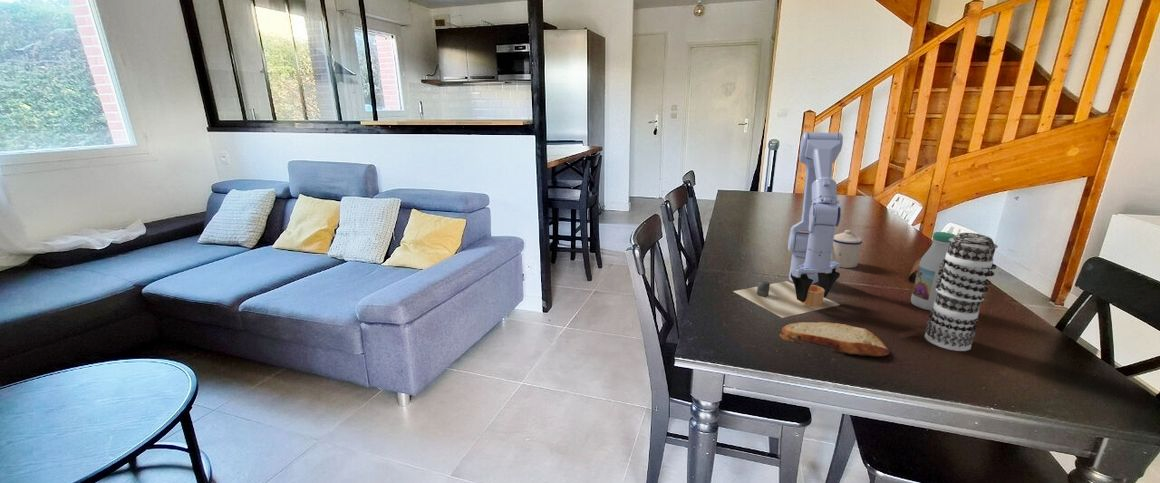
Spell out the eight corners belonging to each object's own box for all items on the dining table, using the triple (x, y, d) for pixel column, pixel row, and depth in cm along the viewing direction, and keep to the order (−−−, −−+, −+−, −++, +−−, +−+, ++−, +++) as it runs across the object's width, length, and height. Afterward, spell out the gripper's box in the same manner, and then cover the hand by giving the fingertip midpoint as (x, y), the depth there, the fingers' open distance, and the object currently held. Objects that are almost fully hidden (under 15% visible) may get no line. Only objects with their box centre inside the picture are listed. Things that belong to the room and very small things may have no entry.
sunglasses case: (943, 288, 133) (932, 267, 134) (915, 294, 138) (905, 273, 138) (945, 271, 147) (936, 252, 147) (920, 277, 151) (911, 259, 152)
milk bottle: (941, 302, 124) (959, 231, 118) (949, 314, 117) (968, 239, 111) (907, 298, 127) (923, 228, 121) (913, 308, 120) (930, 235, 114)
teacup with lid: (850, 260, 157) (856, 227, 154) (862, 269, 149) (869, 234, 145) (813, 258, 159) (818, 226, 155) (824, 267, 150) (829, 233, 147)
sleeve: (809, 297, 125) (812, 283, 124) (826, 304, 120) (829, 290, 119) (795, 300, 123) (797, 286, 122) (811, 308, 118) (814, 293, 117)
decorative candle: (977, 356, 98) (1009, 244, 91) (923, 344, 102) (950, 237, 95) (970, 338, 105) (999, 233, 98) (920, 328, 110) (945, 227, 103)
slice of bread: (771, 334, 108) (773, 319, 107) (826, 320, 115) (828, 306, 114) (840, 373, 92) (843, 357, 91) (898, 354, 99) (901, 339, 98)
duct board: (786, 284, 137) (788, 270, 135) (839, 308, 121) (842, 292, 119) (732, 294, 129) (734, 279, 128) (781, 321, 113) (784, 304, 112)
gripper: (811, 257, 111) (803, 308, 115) (853, 250, 117) (844, 299, 120) (788, 249, 117) (781, 298, 121) (829, 243, 123) (821, 290, 127)
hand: (811, 298), depth 121 cm, fingers open, 7 cm apart
